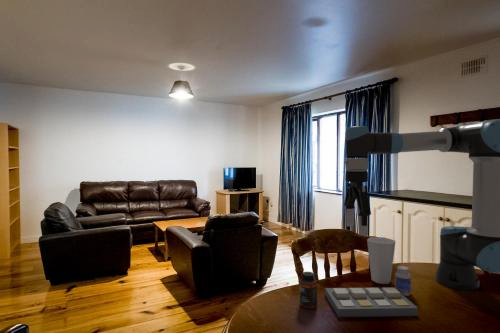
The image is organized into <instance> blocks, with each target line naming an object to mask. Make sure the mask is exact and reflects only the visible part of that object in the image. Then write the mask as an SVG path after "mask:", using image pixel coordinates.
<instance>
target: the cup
mask: <svg viewBox="0 0 500 333" xmlns="http://www.w3.org/2000/svg"><path fill="white" fill-rule="evenodd" d="M366 240H367V241H366V242H367V243H366V244H367V250H368V259H369V266H370V277H371V280H372V281H373V282H374V283H376V284H381V285H385V284H386V285H389V284H390V282H391V279H392V272H393V265H394V257H395V249H396V240H395V239H391V238H387V237H383V236H382V237H381V236H380V237H379V236H371V237H369V238H368V239H366Z"/></svg>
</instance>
